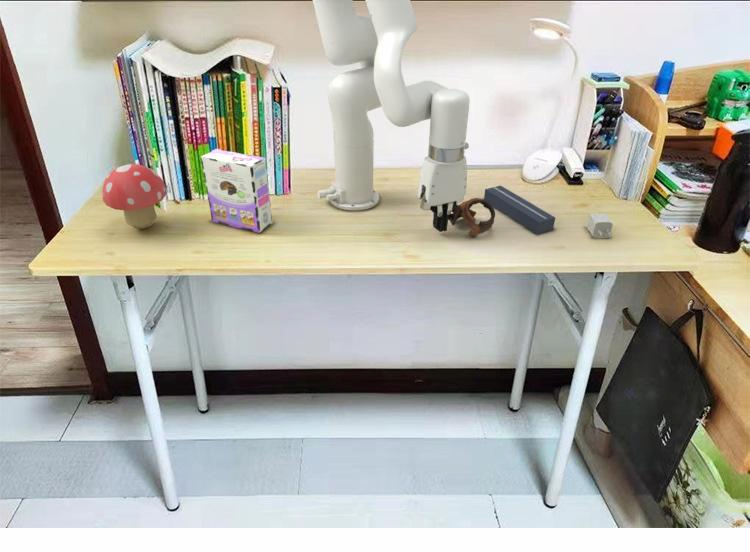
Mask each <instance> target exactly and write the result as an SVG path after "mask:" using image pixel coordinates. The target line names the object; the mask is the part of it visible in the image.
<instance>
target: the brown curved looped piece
mask: <svg viewBox="0 0 750 552" xmlns="http://www.w3.org/2000/svg"><path fill="white" fill-rule="evenodd" d="M478 204H480V205H482V206H483V208H485V209H487V210H488V211H489V214H490V217H489V218H488V219H487V220H480V221H479V223H475V222H476V218H475V216H476V214H477V211H474V210H472V209H471V208H472V207H473V206H474V205H478ZM460 218H463V220H464V221H465V222H466V223H467V225H469V227H471V229H470V231H469V232H468V236H469V237H472V238H475V237H477V236H478V235H481V234H484V233H485V232H487V231H489V230H490V229H492V226H493V225H494V223H495V218H496V210H495V207H493V206H492V205H491V204H490V203H489V202H488V201H486V200H484V198H480V197H474V198H473V197H472V198H470V199H469V200H465V201H462V202H461V203H459V204H456V205H455V206H454V208H453V209H452V212H451V214H449V216H448V221H450V223H451V225H452V226H455V223H456V221H457V220H459V219H460Z"/></svg>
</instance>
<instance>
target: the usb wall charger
mask: <svg viewBox="0 0 750 552" xmlns="http://www.w3.org/2000/svg"><path fill="white" fill-rule="evenodd" d="M613 227H614V223H613V222H612V221H611V219H610V218H609V216H608V215H607V214H606V213H603V212H602V213H601V212H600V213H598V212H597V213H596V212H595V213H594V212H593V213H590V214H589V215H588V219H587V222H586V228H587V230H588V232H589V233H590V234H591V237H593V238H595V239H605V238H606V239H607V238H611V237H612V230H613Z"/></svg>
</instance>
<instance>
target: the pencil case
mask: <svg viewBox="0 0 750 552" xmlns="http://www.w3.org/2000/svg"><path fill="white" fill-rule="evenodd" d="M483 199H484V200H486V201H488V202H489V203H490V204H491V205H492V206H493V208H494V209H496V210H498V211H499V212H501V213H502V214H504V215H505V216H507V217H509V218H510V219H512V220H514V221H515V222H517V223H518V224H520V225H521V226H523V227H524V228H526V229H527V230H529V231H530V232H532V233H534V234H535V235H540V234H544V233H547V232H550V231H553V230H554V227H555V223H556V217H555V216H553V215H552V214H550V213H549V212H547V211H545V210H544V209H541V208H540V207H539V206H537V205H535V204H533V203H532V202H530V201H528V200H527V199H525V198H524V197H521V196H519V195H518V194H516V193H514V192H513V191H511V190H509V189H508V188H506V187H504V186H502V185H497V186H493V187H489V188H485V189H484V196H483Z"/></svg>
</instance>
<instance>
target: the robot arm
mask: <svg viewBox="0 0 750 552" xmlns="http://www.w3.org/2000/svg"><path fill="white" fill-rule="evenodd" d="M364 2H365V4H366V7H367V11H368V13H369V14H365V15H357V13H356V9H355V5H354V0H312V3H313V8H314V13H315V18H316V22H317V26H318V29H319V34H320V38H321V43H322V46H323V50H324V53H325V56H326V58H327V60H328V62H329V63H330V64H332V65H334V66H339V67H341V66H350V65H353V64H357V63H359V64H360V68H356V69H353V70H349V71H344V72H343V73H340V74H338V75H336V76H335V77H334V78H333V79H332V80H331V81H330V83H329V86H328V89H327V100H328V104H329V108H330V112H331V118H332V130H333V153H334V182H331V187H328V188H327V189H321V190H317V191H316V195H317V198H318V199H326V201H328V202H330V204H331V205H332V206H334V207H335V208H338V209H341V210H344V211H352V212H353V211H354V212H355V211H364V210H365V211H366V210H368V209H371V208H373V207H375V206H376V205H377V204H378V203H379V202H380V194H379V192H377V190H375V189H374V157H375V156H374V153H375V152H374V151H375V149H374V148H375V147H374V143H375V140H374V137H375V136H374V129H373V125H372V122H371V121H370V119H369V117H368V113H369V112H371V111H372V110H376V109H379V108H382V111H383V113H384V115H385V117H386V118H387V120H388V121H389V122H390V123H391V124H393V125H394V126H396V127H398V128H399V127H400V128H405V127H409V126H412V125H414V124H415V125H416V124H418V123H420V122H423V121H427V120H429V137H428V139H429V140H428V149H427V150H428V152H427V156H425V157H424V159H423V162H422V165H421V169H420V174H419V180H418V187H417V198H418V199H419V200H421V201H420V205H419V208H420V209H422V211H423V212H424V211H428V212H430V211H431V212H432V213H433V217H432V218H433V219H432V227H433V228H434V229H436V230H437V231H438V232H439V233H443V232H447V231H448V225H449V220H448V216H449V214H452V213H453V212H452V209H453V208H454V206H455V205H456V204H457V205H459V204H461V203H463V202H464V198H465V196H466V194H467V185H468V164H467V157H466V156H465V151H466V150H467V149H469V147H470V146H469V143H468V142H467V141H466V140H467V139H466V138H467V132H468V121H469V111H470V96H469V94H468V93H467V92H466V91H464V90H461V89H457V88H448V87H446V86H444V85H442V84H440V83H438V82H436V81H433V80H423V81H420V82H417V83H412V84H410V85H406V83H405V79H404V77H403V73H402V72H403V71H402V56H403V52H404V50H405V47H406V45H407V44H408V42H409V40H410V39H411V38H412V37H413V35H414V34H415V33H416V32H417V30H418V21H417V17H416V14H415V11H414V8H413V5H412V2H411V0H364Z"/></svg>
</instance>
